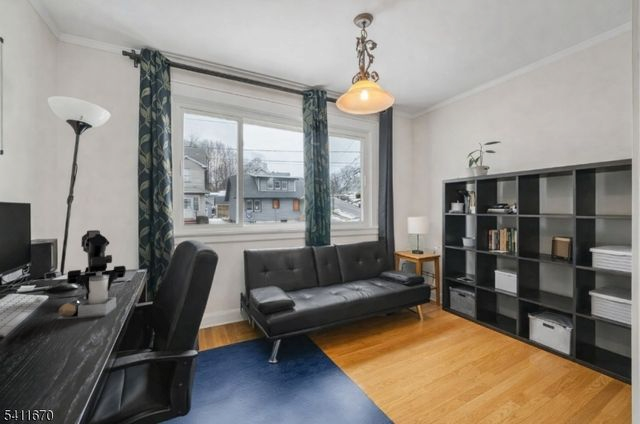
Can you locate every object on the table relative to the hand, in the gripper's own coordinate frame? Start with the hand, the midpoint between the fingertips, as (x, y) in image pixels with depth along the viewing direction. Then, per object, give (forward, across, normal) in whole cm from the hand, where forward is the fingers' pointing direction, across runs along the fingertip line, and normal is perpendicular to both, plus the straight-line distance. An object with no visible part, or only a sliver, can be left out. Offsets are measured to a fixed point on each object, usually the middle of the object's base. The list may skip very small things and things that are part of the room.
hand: (98, 291), depth 109 cm
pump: (+4, 0, +6) cm, 7 cm away
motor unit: (+4, -3, +8) cm, 10 cm away
